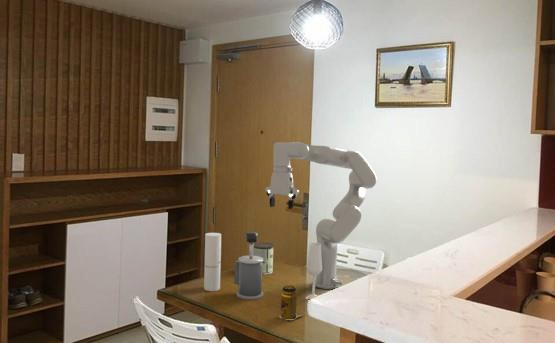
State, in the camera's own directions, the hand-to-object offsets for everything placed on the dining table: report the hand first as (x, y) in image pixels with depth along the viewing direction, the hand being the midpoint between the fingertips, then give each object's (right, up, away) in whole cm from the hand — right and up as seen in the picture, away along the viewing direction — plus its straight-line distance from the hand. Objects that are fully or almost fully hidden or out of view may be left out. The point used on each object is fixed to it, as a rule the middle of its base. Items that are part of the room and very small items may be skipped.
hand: (281, 207), depth 223 cm
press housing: (-15, -38, -6) cm, 41 cm away
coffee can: (-9, -36, +31) cm, 48 cm away
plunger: (-13, -22, -8) cm, 27 cm away
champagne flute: (+14, -39, -7) cm, 42 cm away
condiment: (+3, -41, -30) cm, 51 cm away
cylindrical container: (-32, -37, +1) cm, 49 cm away
